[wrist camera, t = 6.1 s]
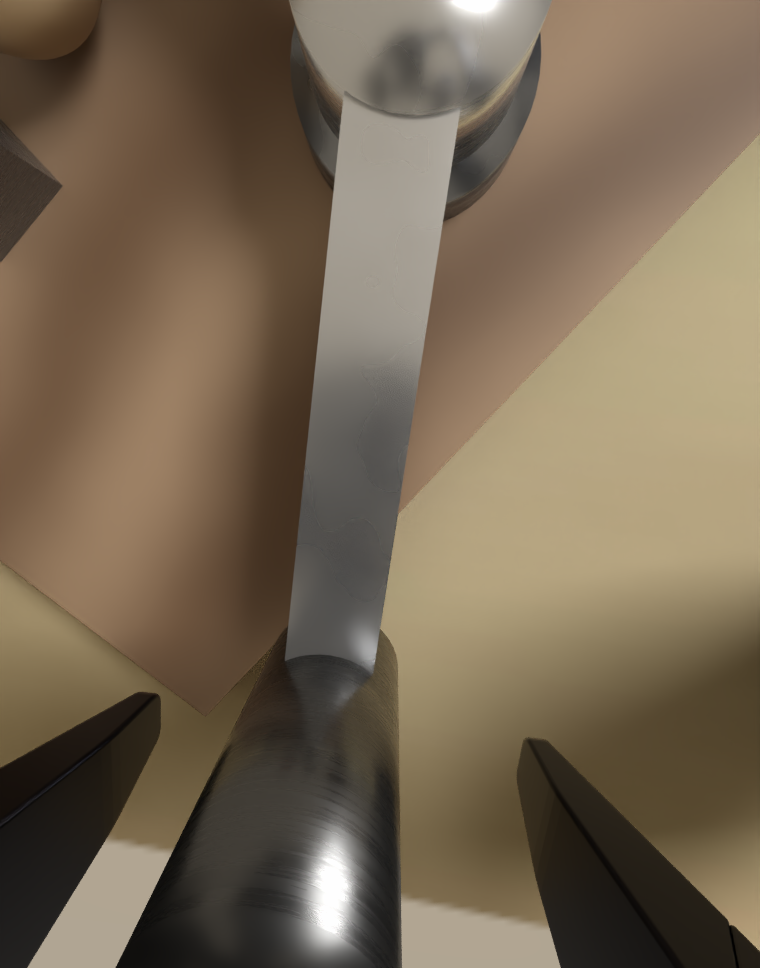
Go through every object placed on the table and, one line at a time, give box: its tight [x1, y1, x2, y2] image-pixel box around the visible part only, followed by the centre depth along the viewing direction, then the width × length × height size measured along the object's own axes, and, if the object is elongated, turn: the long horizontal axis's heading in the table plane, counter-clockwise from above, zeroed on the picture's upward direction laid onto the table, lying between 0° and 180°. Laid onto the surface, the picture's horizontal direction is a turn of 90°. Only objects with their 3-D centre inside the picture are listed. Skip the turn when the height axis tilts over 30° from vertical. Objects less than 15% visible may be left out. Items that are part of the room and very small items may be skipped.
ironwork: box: [0, 25, 541, 262], centre depth 8 cm, size 15×5×3 cm, turn 93°
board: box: [0, 0, 760, 716], centre depth 10 cm, size 17×25×1 cm
